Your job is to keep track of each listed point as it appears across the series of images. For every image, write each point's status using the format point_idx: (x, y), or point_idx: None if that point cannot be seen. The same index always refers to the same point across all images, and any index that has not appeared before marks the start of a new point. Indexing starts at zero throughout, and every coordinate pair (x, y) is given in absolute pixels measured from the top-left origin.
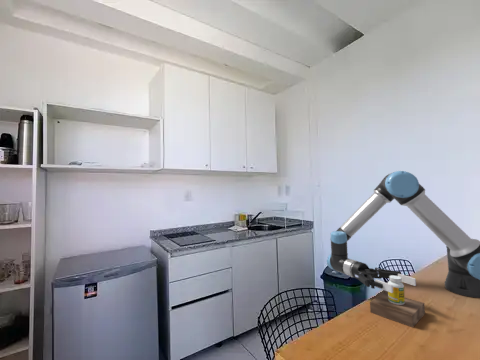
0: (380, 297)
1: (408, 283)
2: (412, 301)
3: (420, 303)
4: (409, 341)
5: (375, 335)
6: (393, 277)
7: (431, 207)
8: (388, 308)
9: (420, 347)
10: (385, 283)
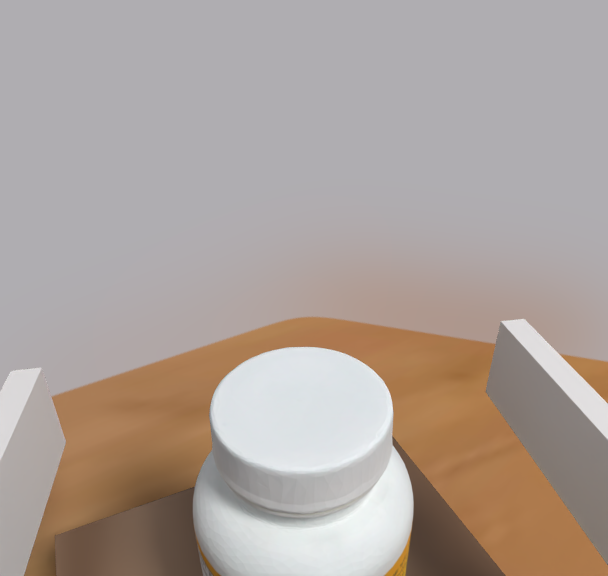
0: None
1: (41, 509)
2: None
3: (99, 539)
4: None
5: None
6: (347, 395)
7: None
8: (492, 562)
9: (475, 371)
10: (569, 365)
